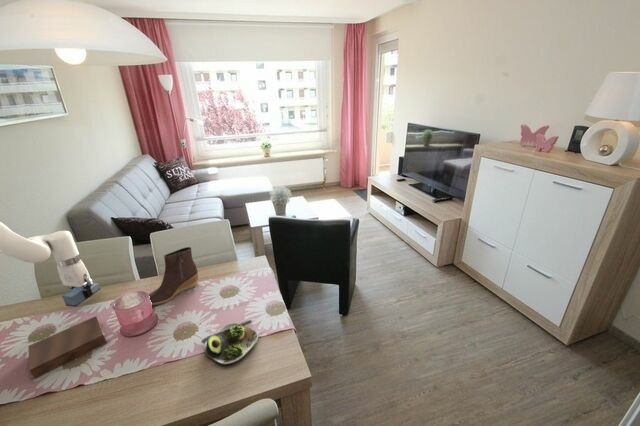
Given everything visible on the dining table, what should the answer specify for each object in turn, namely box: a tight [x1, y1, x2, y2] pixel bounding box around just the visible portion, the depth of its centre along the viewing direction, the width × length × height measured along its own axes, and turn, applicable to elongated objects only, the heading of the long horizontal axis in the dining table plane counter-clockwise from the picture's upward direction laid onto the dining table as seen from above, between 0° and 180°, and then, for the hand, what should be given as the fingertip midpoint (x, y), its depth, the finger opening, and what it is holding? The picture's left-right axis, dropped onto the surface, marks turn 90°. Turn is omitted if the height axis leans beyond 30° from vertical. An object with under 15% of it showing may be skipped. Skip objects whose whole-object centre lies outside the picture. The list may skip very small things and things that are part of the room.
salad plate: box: [200, 319, 259, 367], centre depth 104 cm, size 19×18×5 cm
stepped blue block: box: [61, 282, 102, 308], centre depth 126 cm, size 12×5×5 cm, turn 169°
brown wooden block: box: [28, 315, 108, 379], centre depth 105 cm, size 20×14×4 cm
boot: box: [148, 246, 199, 306], centre depth 129 cm, size 9×24×20 cm, turn 134°
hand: (83, 295), depth 127 cm, fingers closed on stepped blue block, 5 cm apart
